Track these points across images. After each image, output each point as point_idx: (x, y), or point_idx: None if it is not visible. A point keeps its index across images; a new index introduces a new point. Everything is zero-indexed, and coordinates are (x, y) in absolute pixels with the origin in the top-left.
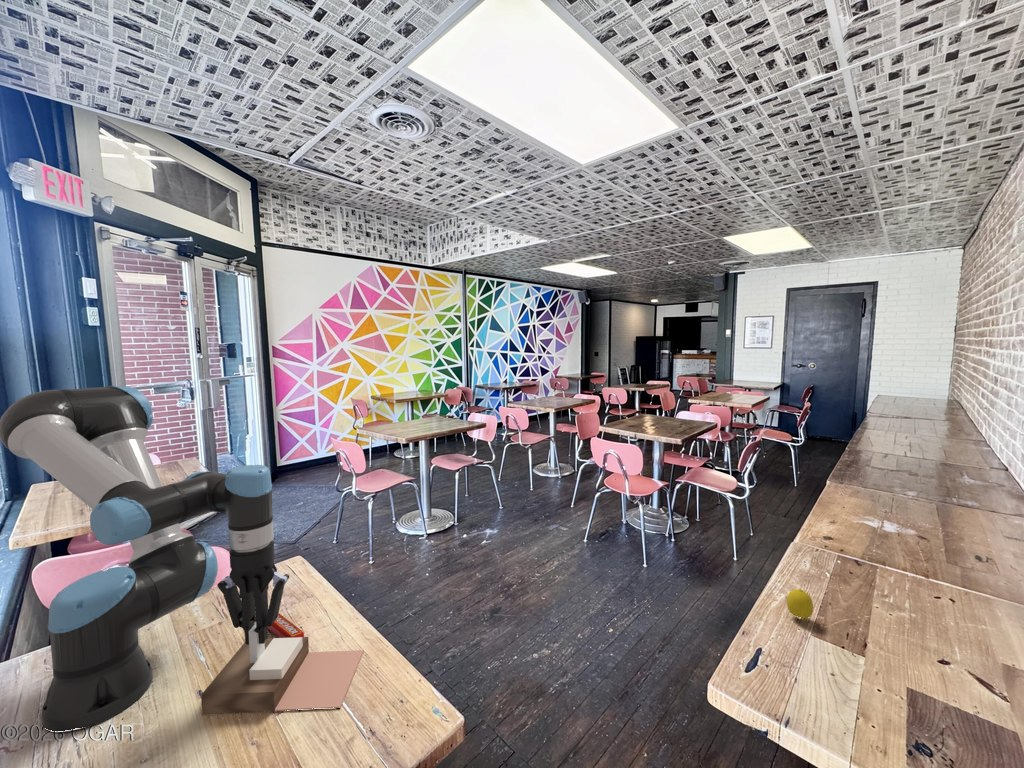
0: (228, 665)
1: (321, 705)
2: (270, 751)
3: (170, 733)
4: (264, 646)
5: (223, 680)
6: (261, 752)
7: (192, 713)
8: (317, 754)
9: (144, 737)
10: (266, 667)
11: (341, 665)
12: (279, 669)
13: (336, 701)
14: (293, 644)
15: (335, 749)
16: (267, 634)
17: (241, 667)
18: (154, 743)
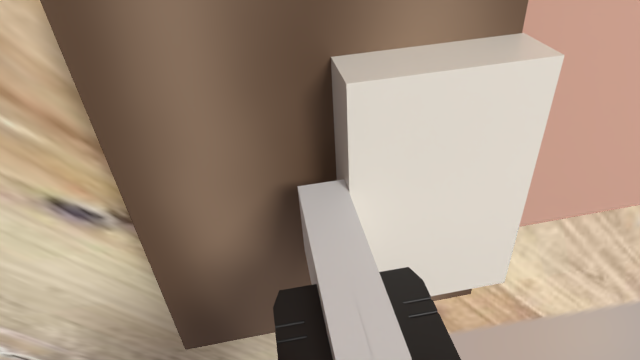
0: (151, 220)
1: (587, 207)
2: (473, 316)
3: (149, 333)
4: (355, 211)
5: (216, 289)
6: (452, 321)
7: (145, 279)
8: (583, 302)
9: (77, 353)
10: (427, 285)
11: None
12: (493, 281)
13: (634, 189)
14: (519, 131)
15: (623, 288)
16: (430, 306)
17: (240, 221)
18: (134, 357)
